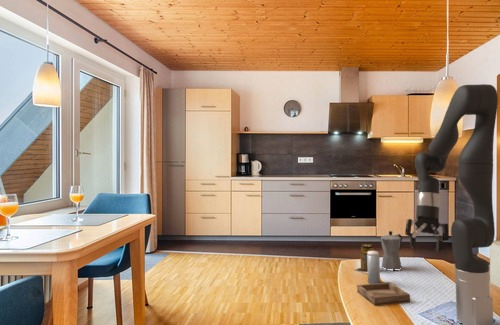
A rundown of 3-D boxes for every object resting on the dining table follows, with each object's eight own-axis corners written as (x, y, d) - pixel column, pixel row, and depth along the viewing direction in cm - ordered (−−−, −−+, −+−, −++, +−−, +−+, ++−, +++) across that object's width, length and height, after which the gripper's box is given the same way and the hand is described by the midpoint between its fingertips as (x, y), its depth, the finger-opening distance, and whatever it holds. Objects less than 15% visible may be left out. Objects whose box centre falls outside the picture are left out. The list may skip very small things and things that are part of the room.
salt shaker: (382, 283, 154) (381, 252, 154) (371, 284, 153) (370, 253, 153) (376, 280, 159) (375, 250, 159) (365, 281, 158) (364, 250, 158)
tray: (410, 302, 133) (409, 294, 133) (374, 305, 131) (374, 297, 131) (389, 289, 147) (389, 282, 147) (357, 292, 145) (357, 285, 145)
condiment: (378, 270, 173) (377, 245, 173) (366, 273, 168) (365, 248, 168) (365, 267, 179) (364, 242, 179) (354, 270, 174) (353, 245, 174)
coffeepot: (392, 273, 167) (391, 234, 167) (374, 268, 175) (373, 231, 175) (411, 267, 176) (409, 230, 176) (393, 263, 184) (392, 227, 184)
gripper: (410, 202, 131) (408, 247, 129) (452, 207, 129) (450, 253, 127) (404, 204, 139) (402, 246, 136) (444, 208, 136) (442, 252, 134)
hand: (425, 250), depth 131 cm, fingers open, 8 cm apart
